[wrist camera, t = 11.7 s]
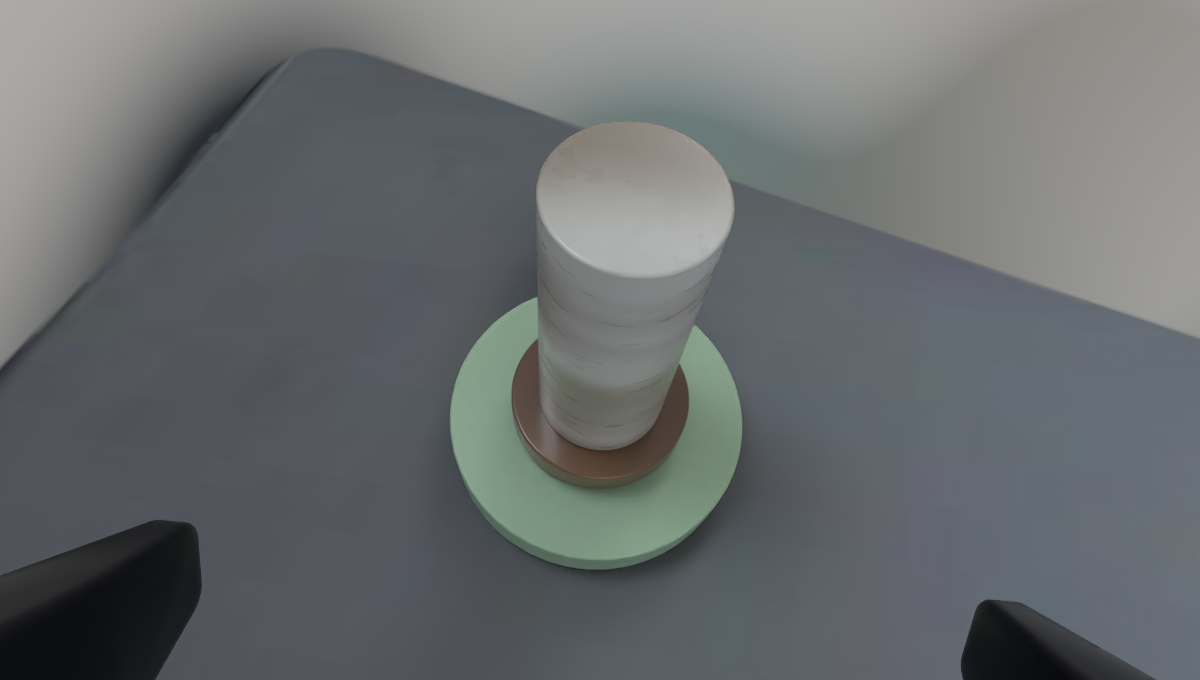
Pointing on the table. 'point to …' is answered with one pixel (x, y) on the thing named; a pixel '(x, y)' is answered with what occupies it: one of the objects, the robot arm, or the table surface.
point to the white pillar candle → (617, 299)
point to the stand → (577, 514)
